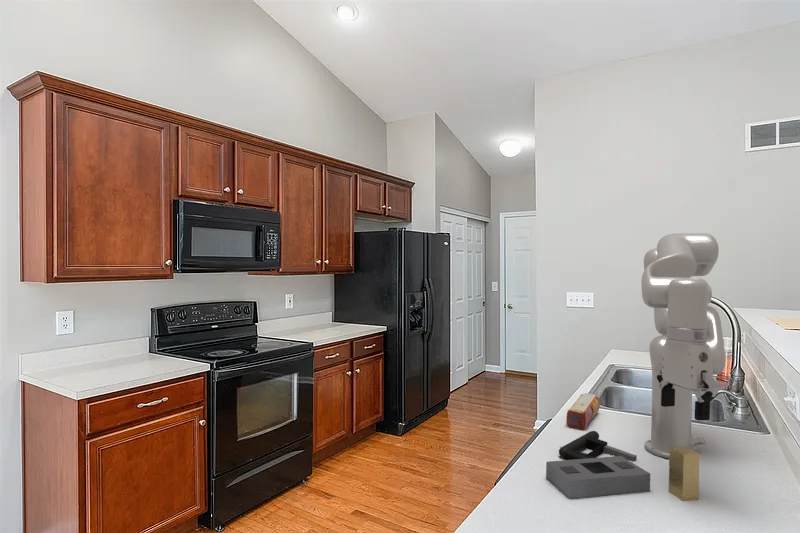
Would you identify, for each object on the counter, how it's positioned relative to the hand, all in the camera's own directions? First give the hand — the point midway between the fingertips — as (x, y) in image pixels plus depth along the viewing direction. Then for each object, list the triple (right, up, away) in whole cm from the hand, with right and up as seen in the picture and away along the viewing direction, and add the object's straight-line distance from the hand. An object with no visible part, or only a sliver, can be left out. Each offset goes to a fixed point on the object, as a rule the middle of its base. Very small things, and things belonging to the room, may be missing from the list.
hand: (684, 412), depth 107 cm
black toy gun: (-10, -19, +22) cm, 30 cm away
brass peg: (0, -18, 0) cm, 18 cm away
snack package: (-3, -18, +50) cm, 54 cm away
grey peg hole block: (-17, -18, +5) cm, 25 cm away
